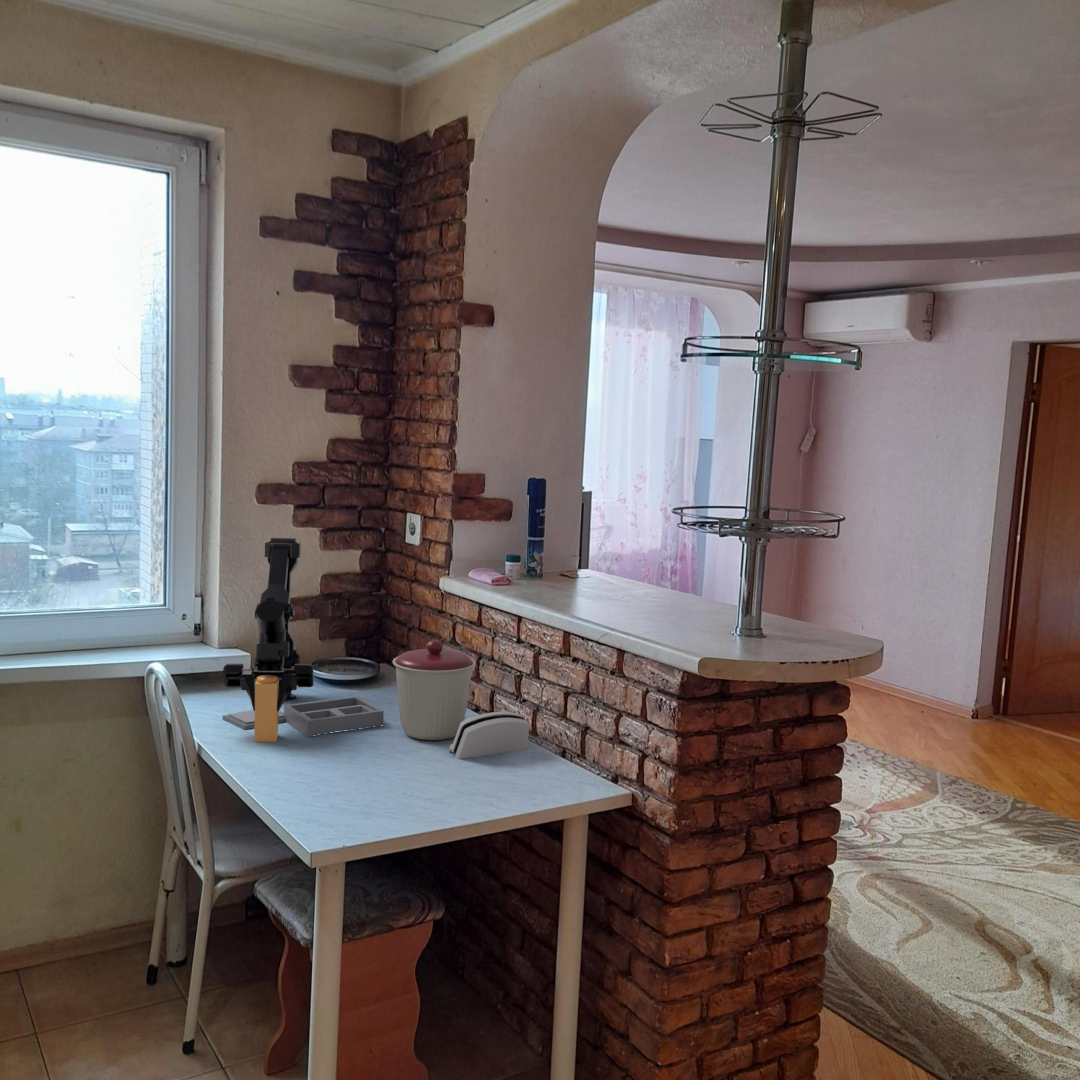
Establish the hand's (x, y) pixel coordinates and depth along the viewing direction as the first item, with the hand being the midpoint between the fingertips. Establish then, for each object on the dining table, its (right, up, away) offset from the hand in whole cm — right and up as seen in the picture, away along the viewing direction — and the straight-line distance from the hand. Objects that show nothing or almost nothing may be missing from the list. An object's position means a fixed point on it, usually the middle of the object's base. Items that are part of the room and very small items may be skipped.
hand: (266, 710), depth 218 cm
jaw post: (0, -6, +2) cm, 7 cm away
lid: (-6, -5, +15) cm, 17 cm away
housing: (+11, -5, +15) cm, 20 cm away
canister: (+34, -7, +10) cm, 36 cm away
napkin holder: (+48, -9, -1) cm, 48 cm away
